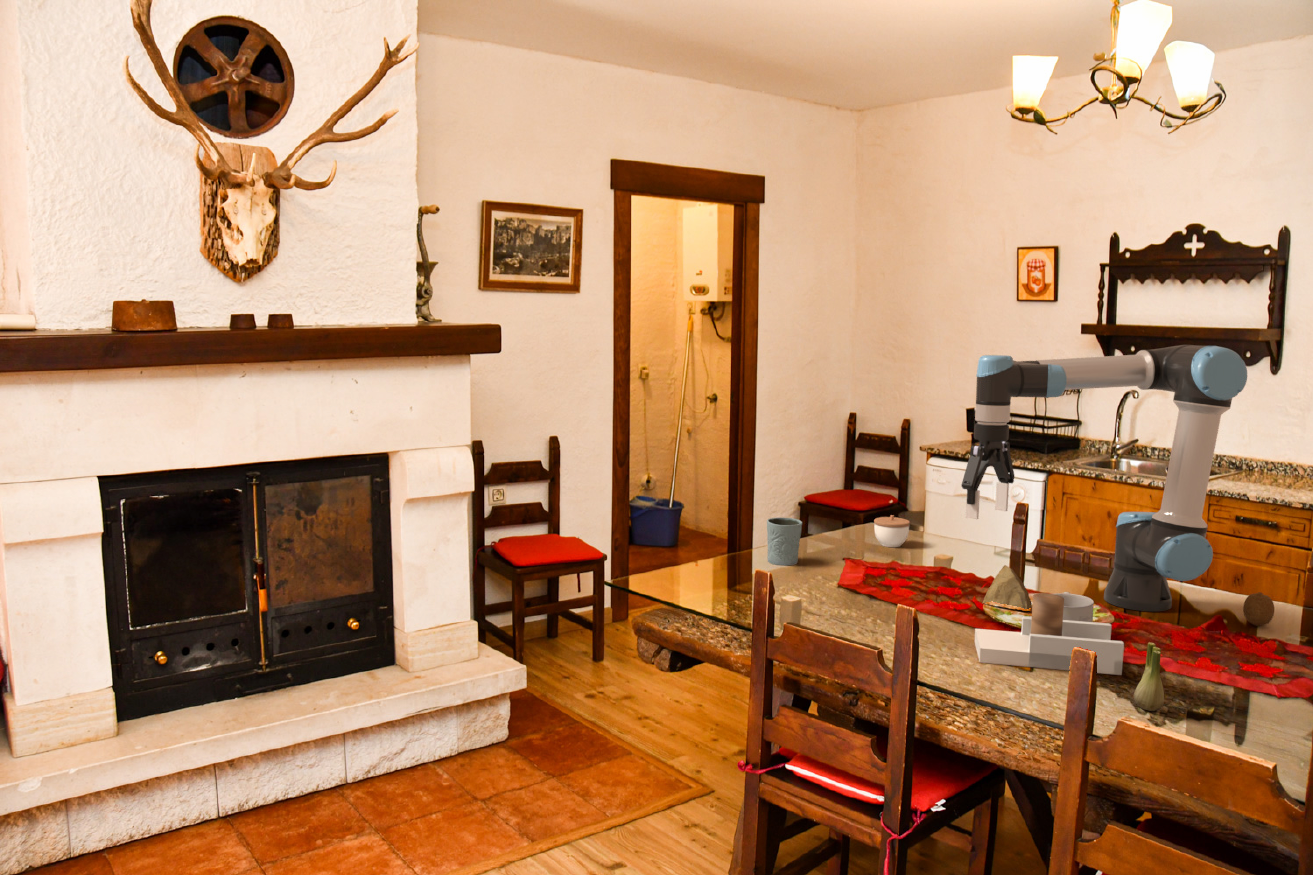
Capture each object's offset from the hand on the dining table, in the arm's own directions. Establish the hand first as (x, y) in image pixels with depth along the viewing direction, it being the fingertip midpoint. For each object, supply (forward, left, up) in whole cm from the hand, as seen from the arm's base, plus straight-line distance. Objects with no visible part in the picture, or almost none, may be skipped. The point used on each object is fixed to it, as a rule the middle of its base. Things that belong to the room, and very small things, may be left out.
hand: (986, 514), depth 224 cm
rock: (-7, -12, -26) cm, 29 cm away
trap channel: (-11, +23, -25) cm, 36 cm away
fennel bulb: (-25, +46, -26) cm, 58 cm away
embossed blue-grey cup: (+51, -41, -26) cm, 70 cm away
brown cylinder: (-11, +23, -22) cm, 34 cm away
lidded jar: (+21, -71, -26) cm, 78 cm away
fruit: (-62, -13, -26) cm, 69 cm away
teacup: (-18, +3, -26) cm, 32 cm away
